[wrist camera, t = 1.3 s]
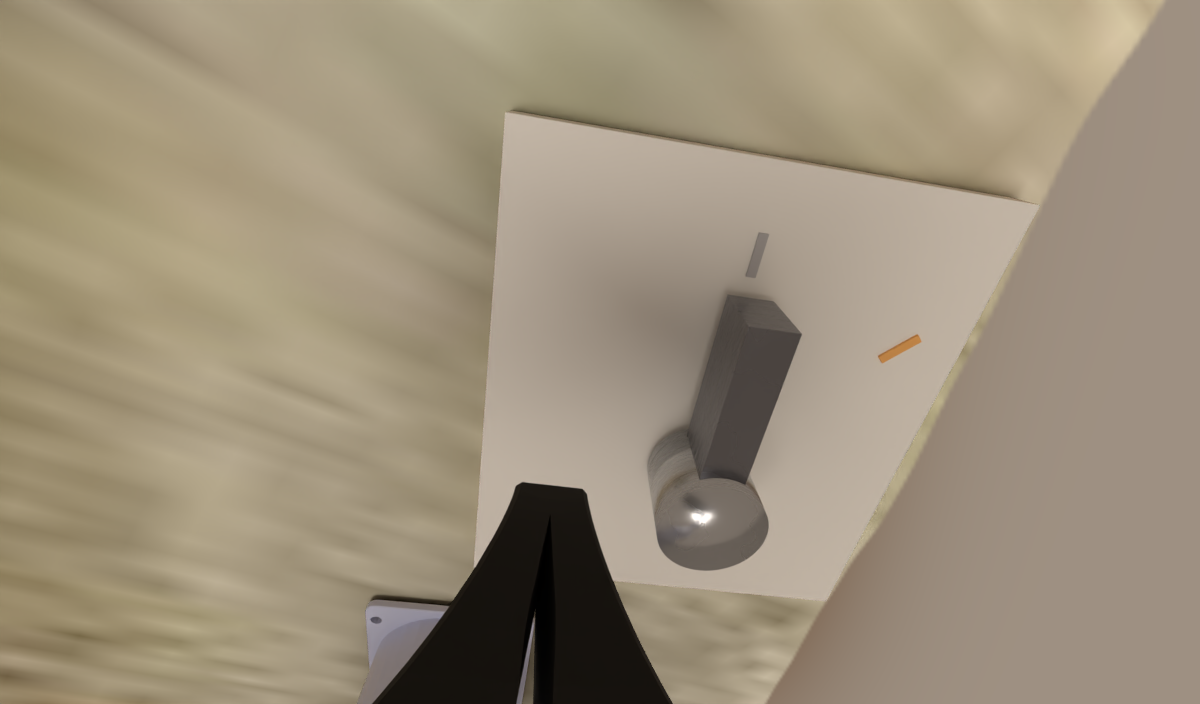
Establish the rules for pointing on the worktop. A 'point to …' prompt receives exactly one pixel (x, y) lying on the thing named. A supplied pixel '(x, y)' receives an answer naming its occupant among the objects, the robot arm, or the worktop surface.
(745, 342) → the dial lever
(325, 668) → the worktop surface
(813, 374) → the dial panel
